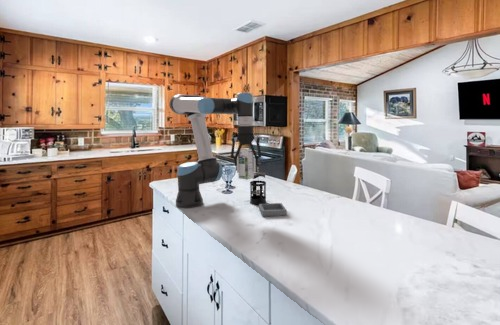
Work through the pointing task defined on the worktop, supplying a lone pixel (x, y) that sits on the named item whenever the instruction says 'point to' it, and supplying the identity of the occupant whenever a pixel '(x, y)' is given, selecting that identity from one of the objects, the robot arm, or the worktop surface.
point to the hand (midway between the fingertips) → (246, 171)
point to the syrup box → (246, 164)
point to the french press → (258, 196)
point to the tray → (272, 210)
